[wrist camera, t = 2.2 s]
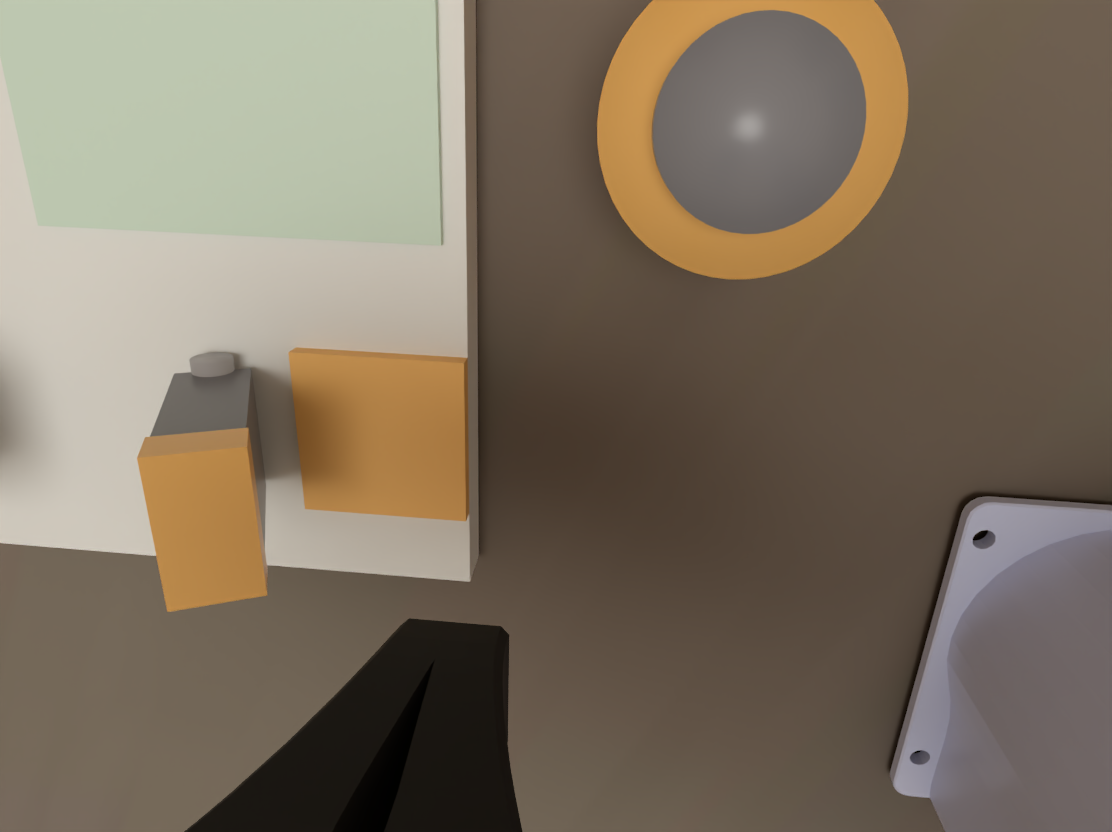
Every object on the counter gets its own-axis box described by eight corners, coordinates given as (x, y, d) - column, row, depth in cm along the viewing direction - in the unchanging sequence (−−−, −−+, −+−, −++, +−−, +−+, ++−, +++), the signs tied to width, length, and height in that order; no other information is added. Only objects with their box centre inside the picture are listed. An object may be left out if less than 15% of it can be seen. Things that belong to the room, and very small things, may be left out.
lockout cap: (799, 239, 16) (891, 298, 10) (600, 229, 16) (586, 282, 11) (835, 13, 14) (967, -61, 9) (613, 7, 15) (604, -67, 9)
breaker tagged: (269, 486, 18) (268, 606, 14) (195, 495, 18) (169, 622, 13) (252, 349, 17) (244, 433, 13) (171, 354, 16) (133, 444, 12)
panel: (479, 556, 20) (466, 590, 18) (-71, 512, 21) (-125, 541, 19) (473, -454, 12) (452, -533, 11) (-381, -437, 13) (-505, -508, 12)
